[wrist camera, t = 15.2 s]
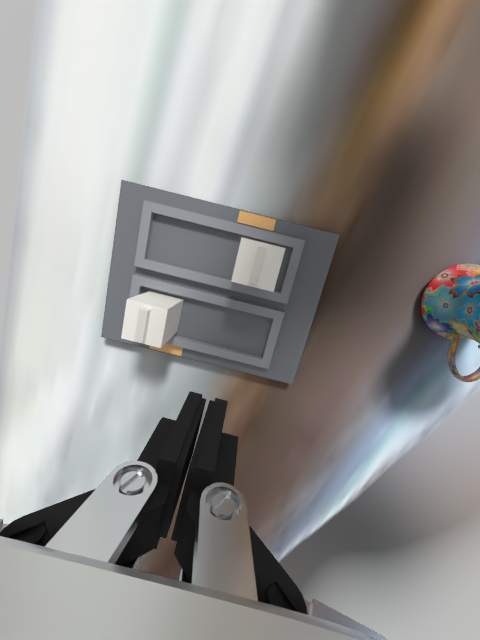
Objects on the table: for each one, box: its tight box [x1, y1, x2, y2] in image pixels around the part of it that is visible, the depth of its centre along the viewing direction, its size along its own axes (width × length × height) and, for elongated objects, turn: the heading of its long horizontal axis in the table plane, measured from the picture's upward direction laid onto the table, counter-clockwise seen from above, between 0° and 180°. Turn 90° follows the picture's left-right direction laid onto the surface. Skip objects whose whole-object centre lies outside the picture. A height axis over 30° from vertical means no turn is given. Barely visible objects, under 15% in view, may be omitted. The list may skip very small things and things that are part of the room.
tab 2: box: [231, 237, 285, 292], centre depth 28 cm, size 4×4×7 cm
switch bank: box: [101, 180, 340, 384], centre depth 32 cm, size 18×24×2 cm
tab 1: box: [121, 291, 184, 348], centre depth 29 cm, size 4×4×7 cm
